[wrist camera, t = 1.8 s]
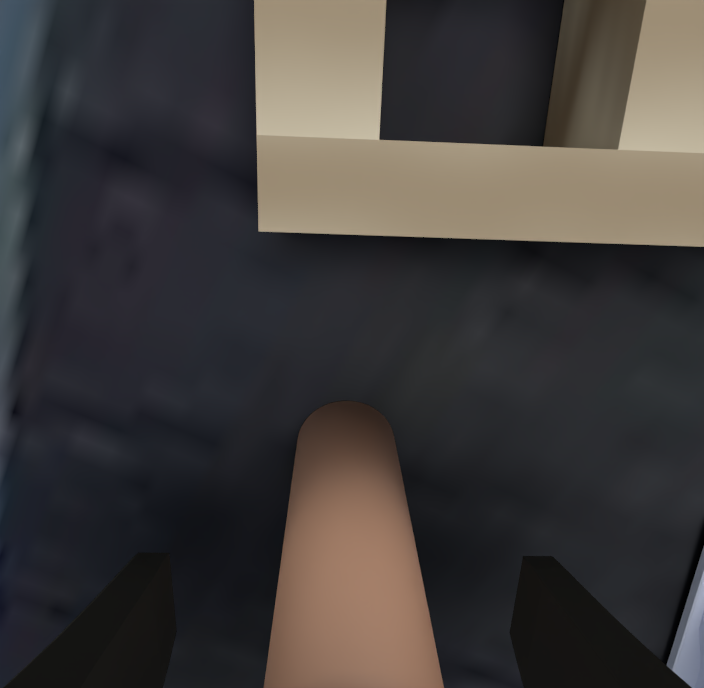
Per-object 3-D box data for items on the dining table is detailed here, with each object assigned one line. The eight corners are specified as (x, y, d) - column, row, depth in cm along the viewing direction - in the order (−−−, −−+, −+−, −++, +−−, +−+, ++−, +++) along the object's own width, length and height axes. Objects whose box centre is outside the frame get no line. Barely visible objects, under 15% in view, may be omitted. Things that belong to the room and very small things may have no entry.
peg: (391, 487, 17) (443, 810, 9) (296, 485, 17) (258, 811, 9) (397, 401, 16) (462, 674, 8) (297, 399, 16) (254, 673, 8)
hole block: (935, 233, 15) (1135, 261, 11) (279, 209, 14) (258, 231, 11) (1076, -124, 12) (1402, -245, 9) (276, -174, 12) (247, -327, 8)
